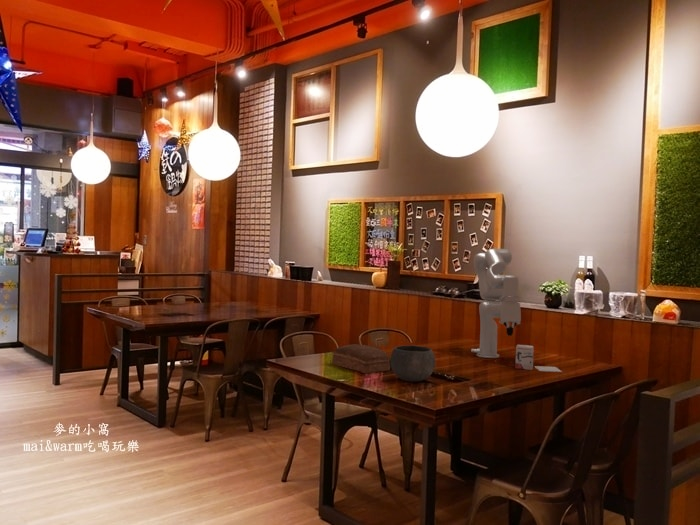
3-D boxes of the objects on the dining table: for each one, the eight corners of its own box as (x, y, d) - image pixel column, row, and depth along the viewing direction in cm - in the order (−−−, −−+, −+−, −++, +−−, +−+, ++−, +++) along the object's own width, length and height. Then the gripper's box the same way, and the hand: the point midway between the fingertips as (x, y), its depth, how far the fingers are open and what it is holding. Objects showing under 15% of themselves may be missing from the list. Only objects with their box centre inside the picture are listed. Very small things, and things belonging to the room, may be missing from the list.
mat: (539, 371, 306) (539, 370, 306) (534, 366, 318) (534, 366, 318) (562, 372, 305) (562, 371, 305) (555, 367, 317) (555, 366, 317)
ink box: (515, 368, 312) (515, 345, 311) (515, 367, 316) (516, 344, 316) (532, 370, 309) (533, 347, 308) (533, 368, 313) (533, 345, 313)
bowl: (403, 387, 264) (404, 352, 263) (382, 377, 283) (382, 345, 282) (443, 384, 272) (443, 350, 272) (419, 374, 291) (420, 343, 290)
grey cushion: (365, 374, 289) (365, 350, 289) (329, 364, 313) (330, 342, 313) (392, 371, 300) (392, 348, 299) (356, 361, 323) (356, 340, 323)
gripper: (497, 299, 309) (496, 335, 309) (526, 300, 308) (526, 336, 308) (494, 298, 316) (493, 334, 316) (523, 299, 315) (522, 334, 315)
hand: (509, 335), depth 312 cm, fingers closed
